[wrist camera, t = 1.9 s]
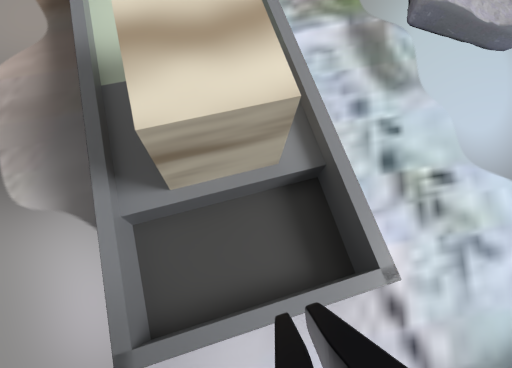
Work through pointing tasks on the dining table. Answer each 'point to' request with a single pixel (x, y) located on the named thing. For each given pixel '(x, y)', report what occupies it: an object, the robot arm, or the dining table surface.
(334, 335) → the robot arm
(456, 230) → the dining table surface
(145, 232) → the grey shallow rectangular tray
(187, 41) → the birch block
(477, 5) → the stone block
